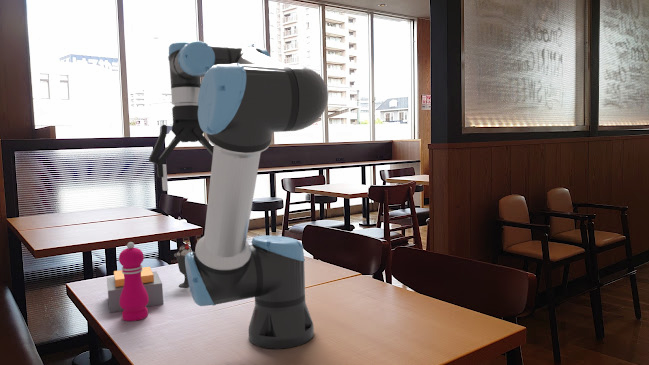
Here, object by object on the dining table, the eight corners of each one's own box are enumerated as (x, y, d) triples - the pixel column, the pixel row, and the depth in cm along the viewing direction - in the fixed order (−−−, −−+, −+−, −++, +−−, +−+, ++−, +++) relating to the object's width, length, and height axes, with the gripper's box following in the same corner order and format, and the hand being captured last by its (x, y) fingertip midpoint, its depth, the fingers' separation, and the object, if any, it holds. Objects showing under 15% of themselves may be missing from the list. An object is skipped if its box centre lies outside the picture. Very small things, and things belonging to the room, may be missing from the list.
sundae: (194, 288, 156) (192, 240, 155) (173, 288, 156) (170, 241, 155) (200, 281, 163) (197, 236, 161) (179, 282, 163) (177, 236, 162)
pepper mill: (139, 322, 128) (135, 245, 127) (114, 321, 130) (109, 244, 128) (155, 312, 136) (150, 239, 134) (130, 311, 137) (126, 238, 135)
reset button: (154, 298, 143) (153, 274, 143) (116, 304, 139) (115, 279, 138) (151, 289, 152) (149, 266, 152) (115, 294, 148) (113, 271, 148)
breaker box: (163, 303, 142) (162, 283, 142) (109, 312, 137) (108, 290, 136) (157, 290, 155) (156, 271, 154) (108, 297, 149) (106, 277, 149)
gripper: (230, 106, 138) (234, 184, 140) (133, 106, 127) (139, 191, 128) (238, 104, 132) (243, 185, 133) (138, 104, 120) (144, 193, 121)
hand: (192, 188), depth 131 cm, fingers open, 13 cm apart
